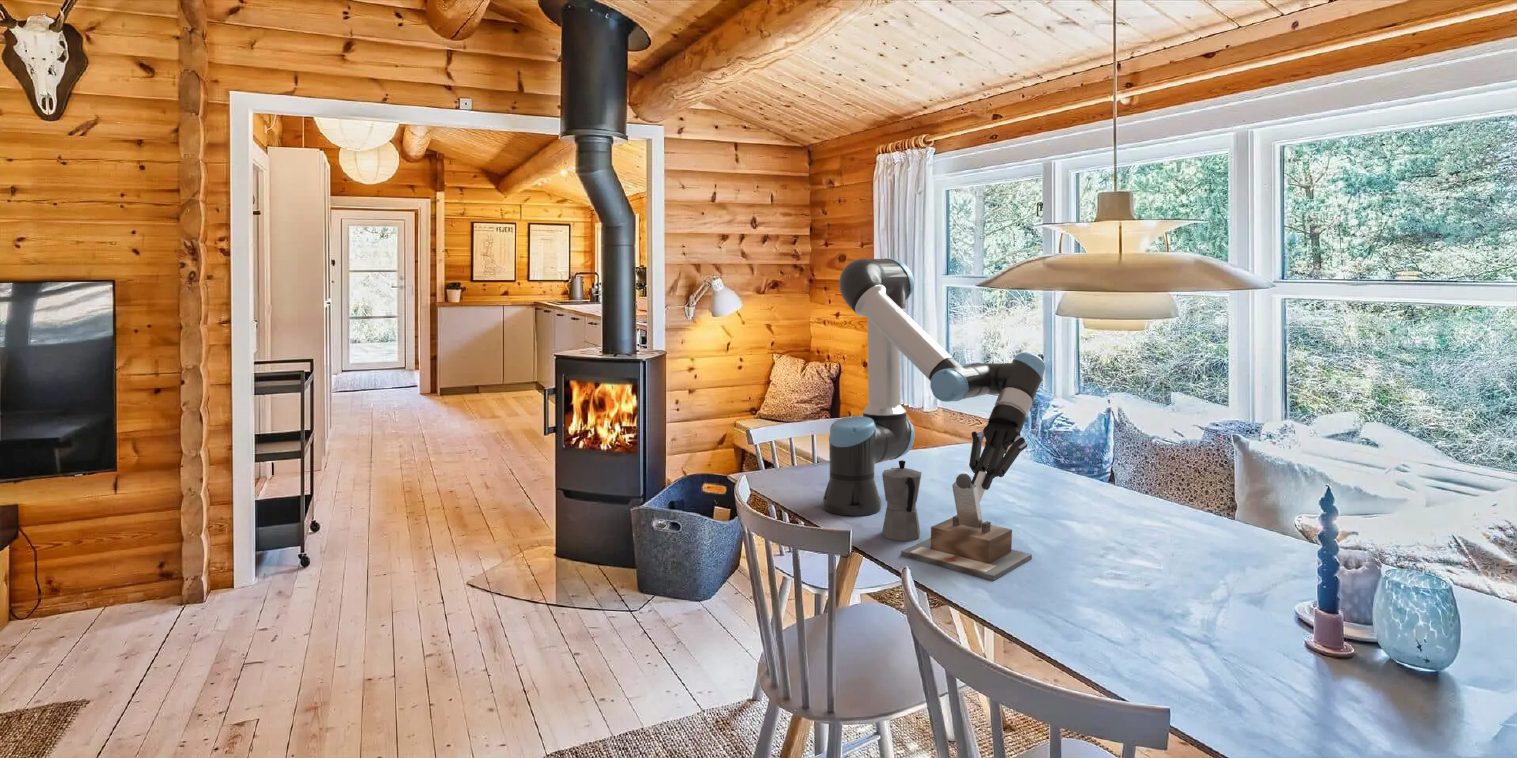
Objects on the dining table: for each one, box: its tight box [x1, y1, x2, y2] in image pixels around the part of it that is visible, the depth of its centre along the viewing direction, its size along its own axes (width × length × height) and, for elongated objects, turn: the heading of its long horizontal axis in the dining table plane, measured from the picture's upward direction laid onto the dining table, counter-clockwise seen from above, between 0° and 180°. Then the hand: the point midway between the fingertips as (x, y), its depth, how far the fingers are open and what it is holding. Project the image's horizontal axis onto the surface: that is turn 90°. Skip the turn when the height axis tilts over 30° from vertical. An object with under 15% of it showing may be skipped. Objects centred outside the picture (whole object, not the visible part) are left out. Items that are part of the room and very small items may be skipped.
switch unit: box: [900, 514, 1033, 581], centre depth 179 cm, size 22×17×8 cm
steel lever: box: [951, 473, 984, 529], centre depth 178 cm, size 5×3×13 cm, turn 47°
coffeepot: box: [881, 459, 922, 542], centre depth 193 cm, size 15×9×18 cm, turn 6°
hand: (974, 500), depth 179 cm, fingers closed
